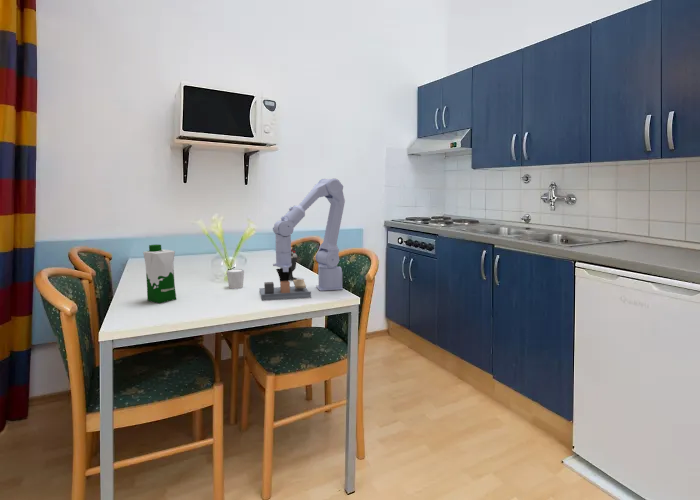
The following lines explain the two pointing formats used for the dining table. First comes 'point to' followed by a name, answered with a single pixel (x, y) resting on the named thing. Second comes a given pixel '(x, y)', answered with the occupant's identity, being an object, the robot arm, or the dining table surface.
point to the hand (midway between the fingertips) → (284, 287)
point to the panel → (285, 294)
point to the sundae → (293, 263)
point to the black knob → (269, 287)
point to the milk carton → (159, 274)
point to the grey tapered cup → (235, 278)
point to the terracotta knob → (285, 286)
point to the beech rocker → (299, 283)
